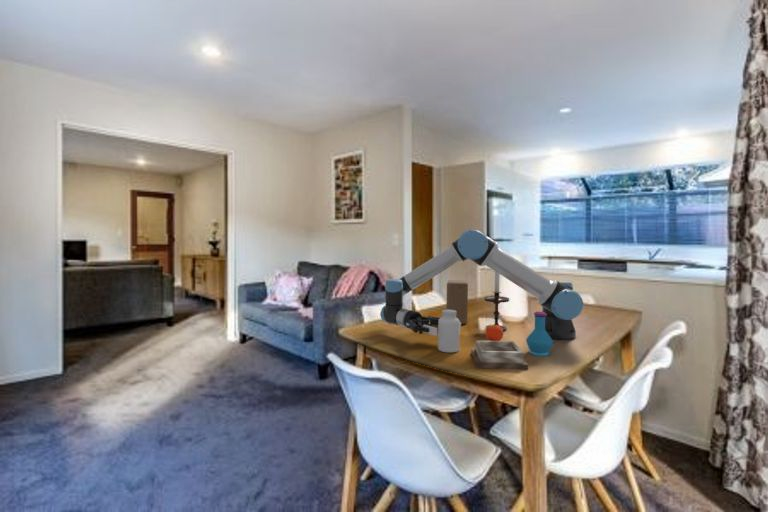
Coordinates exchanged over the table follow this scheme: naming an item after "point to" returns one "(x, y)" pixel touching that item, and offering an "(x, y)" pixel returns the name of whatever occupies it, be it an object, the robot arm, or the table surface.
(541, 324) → the perfume bottle
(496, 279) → the candlestick
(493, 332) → the red round lump
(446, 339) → the pill bottle
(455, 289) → the wooden block
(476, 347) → the bottle stand
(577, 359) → the table surface
